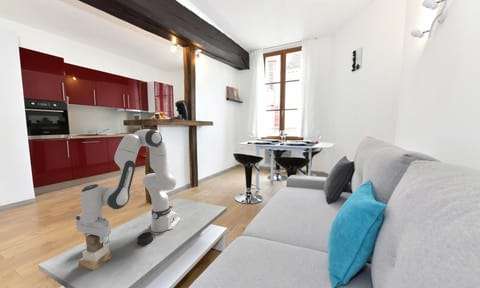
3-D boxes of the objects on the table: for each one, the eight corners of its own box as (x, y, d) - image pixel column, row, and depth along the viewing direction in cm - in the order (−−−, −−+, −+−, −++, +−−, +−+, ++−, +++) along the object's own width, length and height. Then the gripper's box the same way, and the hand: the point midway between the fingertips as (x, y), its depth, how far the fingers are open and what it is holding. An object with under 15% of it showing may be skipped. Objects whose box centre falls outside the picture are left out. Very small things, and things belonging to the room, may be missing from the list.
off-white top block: (97, 249, 107) (96, 243, 107) (109, 251, 106) (108, 244, 105) (83, 259, 99) (82, 252, 99) (95, 261, 98) (95, 254, 98)
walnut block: (96, 245, 105) (95, 231, 104) (103, 246, 103) (102, 232, 103) (87, 251, 100) (85, 236, 99) (94, 252, 99) (93, 238, 98)
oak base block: (98, 254, 109) (97, 248, 109) (111, 258, 106) (111, 251, 106) (79, 267, 99) (78, 260, 99) (93, 271, 96) (92, 264, 96)
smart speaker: (149, 235, 127) (149, 230, 127) (156, 240, 122) (155, 234, 121) (135, 241, 120) (135, 235, 120) (141, 247, 115) (141, 241, 114)
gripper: (113, 216, 100) (115, 240, 101) (85, 210, 106) (87, 234, 107) (101, 221, 94) (103, 248, 95) (72, 216, 100) (74, 240, 101)
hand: (94, 240), depth 101 cm, fingers open, 8 cm apart
